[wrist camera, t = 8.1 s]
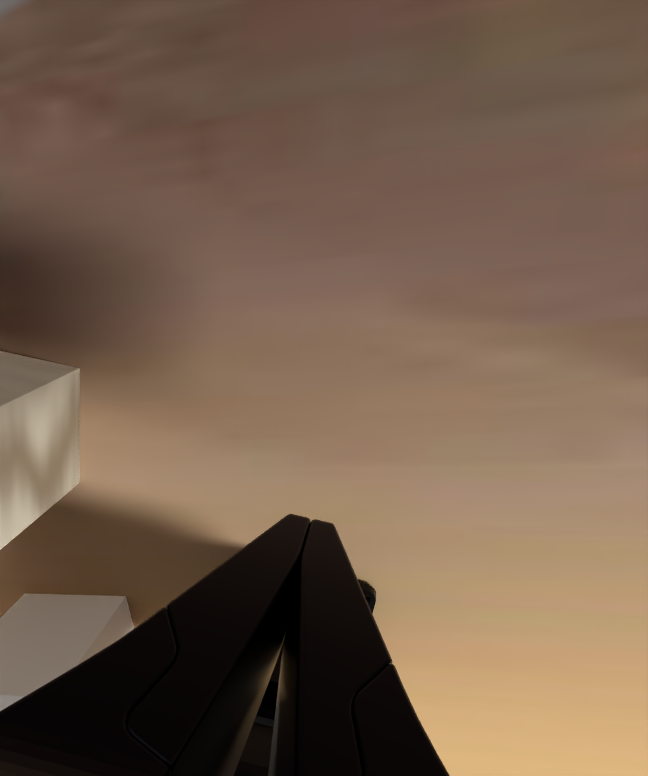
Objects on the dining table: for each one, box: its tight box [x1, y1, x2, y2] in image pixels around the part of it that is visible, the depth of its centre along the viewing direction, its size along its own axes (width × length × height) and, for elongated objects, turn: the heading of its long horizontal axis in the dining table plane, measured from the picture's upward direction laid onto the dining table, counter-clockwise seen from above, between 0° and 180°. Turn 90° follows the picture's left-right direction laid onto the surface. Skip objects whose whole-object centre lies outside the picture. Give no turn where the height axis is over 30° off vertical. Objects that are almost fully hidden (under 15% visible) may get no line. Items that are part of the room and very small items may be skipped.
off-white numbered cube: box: [0, 593, 134, 711], centre depth 25 cm, size 6×6×6 cm
